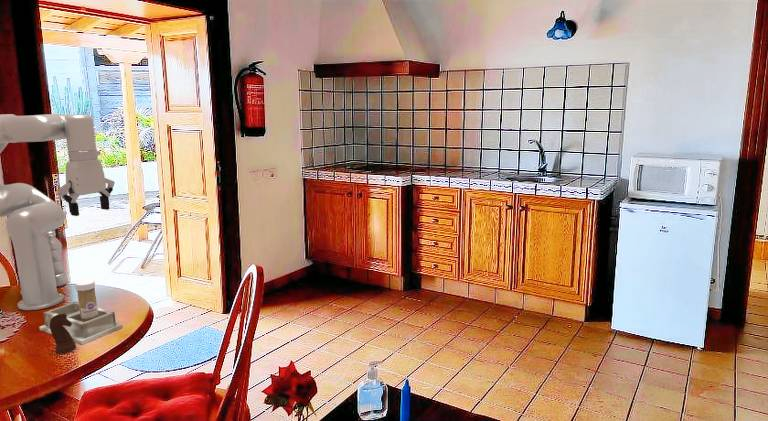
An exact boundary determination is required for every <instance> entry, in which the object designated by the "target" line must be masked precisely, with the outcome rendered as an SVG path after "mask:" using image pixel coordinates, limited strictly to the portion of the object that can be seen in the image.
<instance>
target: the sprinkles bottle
mask: <svg viewBox="0 0 768 421" xmlns="http://www.w3.org/2000/svg"><path fill="white" fill-rule="evenodd" d="M75 289H76V292H77V299H78V301H77V302H78V303H79V310H80V317H81V321H82V322H86V321H89V320H91V319H94V318H97V317H98V308H99V307H98V303H97V301H98V300H97V295H96V283H95V280H93V279H83V280H80V281H77V282H76V283H75Z"/></svg>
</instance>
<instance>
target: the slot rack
mask: <svg viewBox="0 0 768 421" xmlns="http://www.w3.org/2000/svg"><path fill="white" fill-rule="evenodd" d="M97 308H98V317H97V318H94V319H91V320H89V321H86V322H82V321H81V317H80V310H79V303H78V301H73V302H70V303H67V304H64V305H62V306H59V307H56V308H53V309H50V310H47V311H44V312H43V317H44V318H43V319H44V324H43V325H41V326H39V327H38V328H39V331H41V332H45V333H48V334H49V335H52V333H51V330H50V321H51V319H52V318H53V317H54V316H56V315H58V314H63V313H65V314H66V315H67V317H66V318H67V319H68V320H69V321H70V322H72V325H71V326H70V327H69V326H63V325H62V326H63V327H64V328H65V329H66V330H67V331H68V332H69V333H70V335H71V337H72V338H73V341H74V342H75V344H79V345H84V344H87V343H89V342H91V341H95V340H97V339H98V338H99V339H100V338H102V337H103V336H106V335H109V334H111V333H113V332H115V331H118V330H120V329H122V328H123V324H121V323H118V322H116V312H114V311H111V310H107V309H103V308H100V307H97Z"/></svg>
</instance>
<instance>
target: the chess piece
mask: <svg viewBox="0 0 768 421" xmlns="http://www.w3.org/2000/svg"><path fill="white" fill-rule="evenodd" d="M66 317H67V315H66V314H65V313H63V314H58V315H56V316H54V317H53V318H52V319H51V321H50V330H51V333H52V334H51V335H52V337H53V339H54V341H55V343H56V344H55V352H56V354H59V355H63V354H68V353H71V352H73V351H75V350H76V348H77V345H76V342H74V341H73V338H72V337H71V335H70V333H69V332H68V331H67V330H66V329H65V328H64V327H63V326H69V327H70V326H71V325H72V322H70V321H69V320H68V319H67V318H66ZM62 325H63V326H62Z"/></svg>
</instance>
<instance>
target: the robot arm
mask: <svg viewBox="0 0 768 421" xmlns="http://www.w3.org/2000/svg"><path fill="white" fill-rule="evenodd" d="M94 127H95V126H94V120H93V117H92V116H91V115H89V114H64V113H49V114H34V115H32V114H31V115H16V114H12V113H9V114H8V113H7V114H4V113H3V114H2V113H1V114H0V154H1V153H2V152H3V151H4V150H5V148H6V147H7V145H8V144H9V143H12V144H16V143H36V142H48V141H57V140H66V145H67V147H66V148H67V154H68V161H67V162H66V164H65V184H64V185H62V186H60V187H59V188H58V189H57V193H58V194H59V196H60V197H61V199H63V200H64V201H65V202H66V203H68V209H69V213H70V215H71V216H74V217H79V216H80V210H79V203H78V202H76V201H77V200H78V198H79V196H84V195H85V196H86V195H93V194H99V195H100V196H99V202H100V209H101V210H106V211H109V210H110V201H109V200H110V199H109V197H110V196H111V193H112V192H113V190H114V185H115V181H114V180H111V179H109V178H106V177H105V172H104V168H103V166H102V165H103V164H102V163H101V160H100V159H98V158H99V156H101V151H100V150H98V149H97V144H96V143H97V142H96V135H95V134H96V133H95V128H94ZM3 217H7V219H6V221H5V225H6V229H7V232H8V234H9V237H10V240H11V243H12V246H13V250H14V255H15V260H16V267H17V273H18V279H19V285H20V289H21V290H20V291H19V293H20V295H21V296H22V299H21V300H20V301H19V302H17V308H18V309H20V310H22V311H34V310H35V311H36V310H37V311H38V310H42V309H47V308H51V307H53V306H57V305H58V304H60V303H62V302H63V301H64V299H65V297H64V294H62V293H58V288H57V287H56V280H55V273H54V267H53V260H52V254H51V248H50V245H49V243H48V242H47V240H46V239H45V238H44V236H43V234H44V233H46V232H49V231H52V230H55V231H56V230H57V229H59V228H61V227H62V226H63V224H64V223H65V220H66V214H65V212H64V210H63V208H62V207H61V205H60V204H58V202H55V201H54V200H53V199H51V198H50V197H49V196H47V195H45V193H43V192H42V191H40V190H38V189H37V188H36V187H34V186H32V185H30V184H28V183H24V182H23V183H22V182H15V183H9V184H2V183H0V218H3Z"/></svg>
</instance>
